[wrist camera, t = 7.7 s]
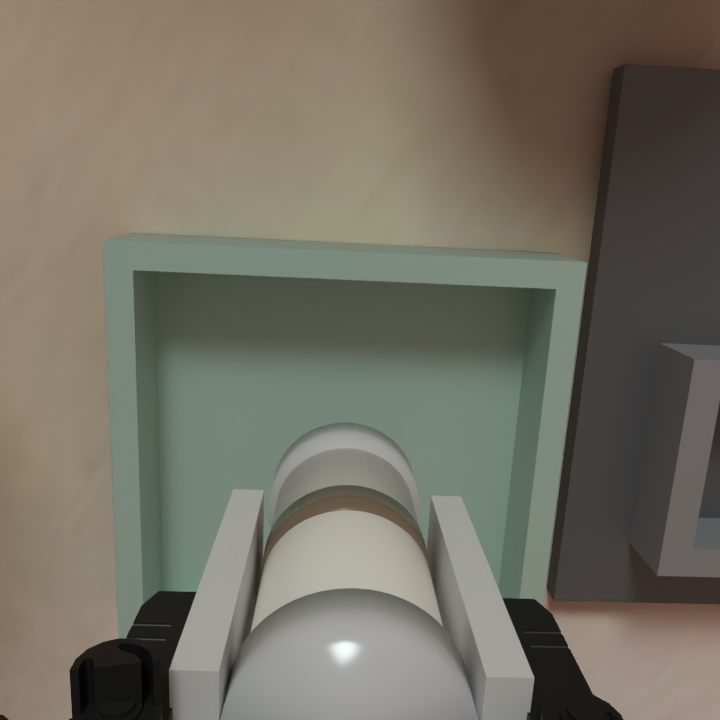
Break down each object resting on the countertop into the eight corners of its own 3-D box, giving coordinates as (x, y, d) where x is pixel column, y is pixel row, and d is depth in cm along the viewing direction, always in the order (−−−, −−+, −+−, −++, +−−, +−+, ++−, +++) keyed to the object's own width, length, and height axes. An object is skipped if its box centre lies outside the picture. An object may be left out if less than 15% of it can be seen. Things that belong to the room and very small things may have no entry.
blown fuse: (271, 551, 21) (213, 870, 11) (274, 419, 20) (212, 641, 10) (409, 555, 21) (472, 872, 11) (419, 425, 20) (497, 648, 10)
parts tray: (144, 609, 25) (120, 665, 22) (133, 233, 22) (102, 239, 19) (511, 617, 26) (534, 672, 23) (554, 253, 22) (587, 262, 19)
